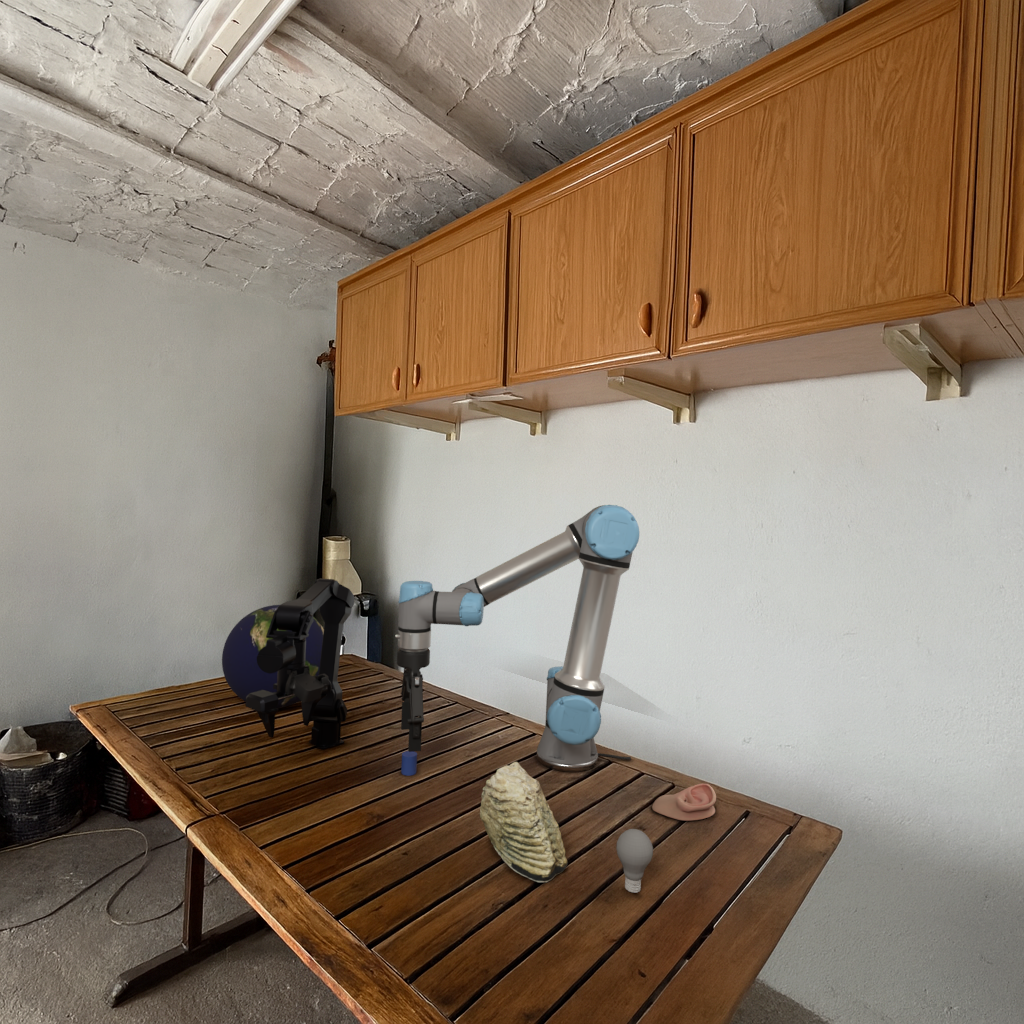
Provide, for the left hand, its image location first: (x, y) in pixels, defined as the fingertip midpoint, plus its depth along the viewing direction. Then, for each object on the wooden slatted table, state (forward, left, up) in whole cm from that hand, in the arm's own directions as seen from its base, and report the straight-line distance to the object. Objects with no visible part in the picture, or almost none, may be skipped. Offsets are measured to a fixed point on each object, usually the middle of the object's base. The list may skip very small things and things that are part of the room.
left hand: (289, 731), depth 140 cm
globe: (-22, -47, -11) cm, 53 cm away
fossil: (-15, +56, -11) cm, 59 cm away
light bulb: (-21, +76, -11) cm, 79 cm away
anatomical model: (-54, +68, -11) cm, 88 cm away
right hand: (-22, +15, -3) cm, 27 cm away
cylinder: (-22, +15, -11) cm, 29 cm away
